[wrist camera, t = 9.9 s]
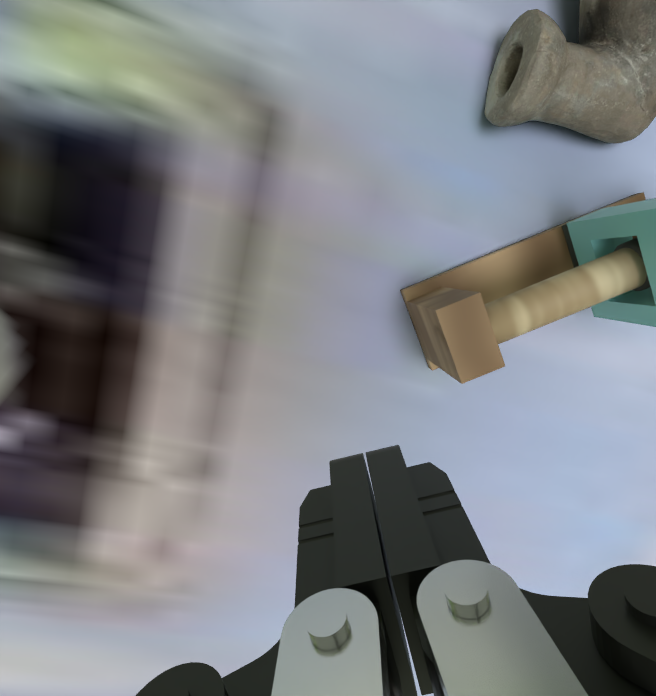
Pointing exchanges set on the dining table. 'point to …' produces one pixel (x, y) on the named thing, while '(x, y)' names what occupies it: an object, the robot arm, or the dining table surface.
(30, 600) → the dining table surface
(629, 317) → the teal flat board
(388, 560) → the robot arm
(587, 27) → the pipe
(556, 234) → the wooden dowel plank
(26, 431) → the dining table surface
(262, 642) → the dining table surface
